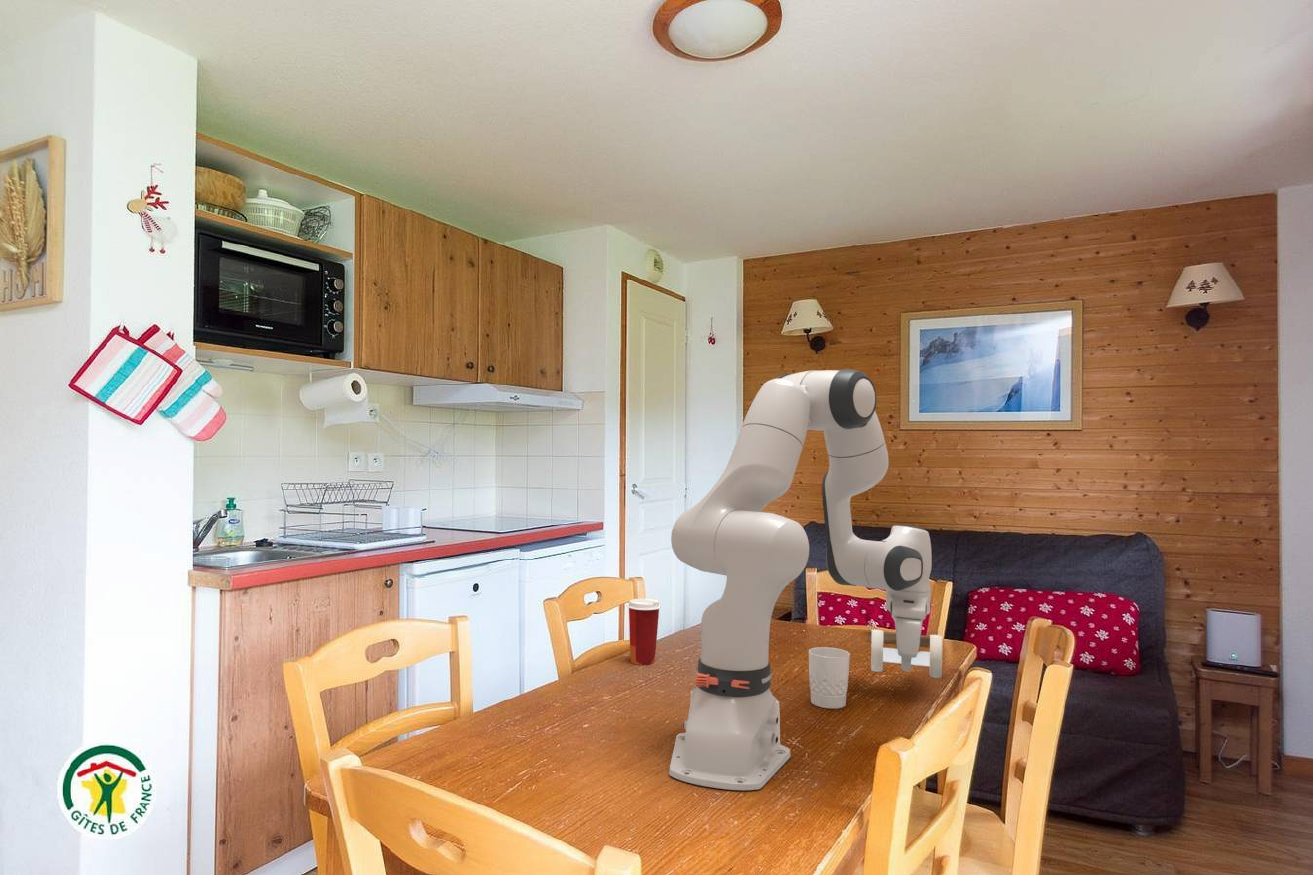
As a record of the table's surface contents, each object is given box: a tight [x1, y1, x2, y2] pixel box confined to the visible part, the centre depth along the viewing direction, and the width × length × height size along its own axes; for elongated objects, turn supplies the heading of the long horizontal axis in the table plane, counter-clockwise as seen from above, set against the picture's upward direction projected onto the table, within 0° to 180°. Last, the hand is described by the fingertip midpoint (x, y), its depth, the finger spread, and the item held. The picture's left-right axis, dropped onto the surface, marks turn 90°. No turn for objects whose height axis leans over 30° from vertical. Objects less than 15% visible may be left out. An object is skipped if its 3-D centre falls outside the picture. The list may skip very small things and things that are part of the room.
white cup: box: [808, 646, 851, 710], centre depth 148 cm, size 8×8×10 cm
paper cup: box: [626, 597, 662, 666], centre depth 174 cm, size 8×8×14 cm
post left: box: [870, 628, 885, 673], centre depth 172 cm, size 3×3×9 cm
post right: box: [928, 634, 943, 679], centre depth 168 cm, size 3×3×9 cm
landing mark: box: [883, 647, 930, 668], centre depth 184 cm, size 14×14×1 cm
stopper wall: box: [867, 629, 930, 647], centre depth 198 cm, size 2×18×2 cm, turn 73°
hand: (905, 669), depth 157 cm, fingers closed
